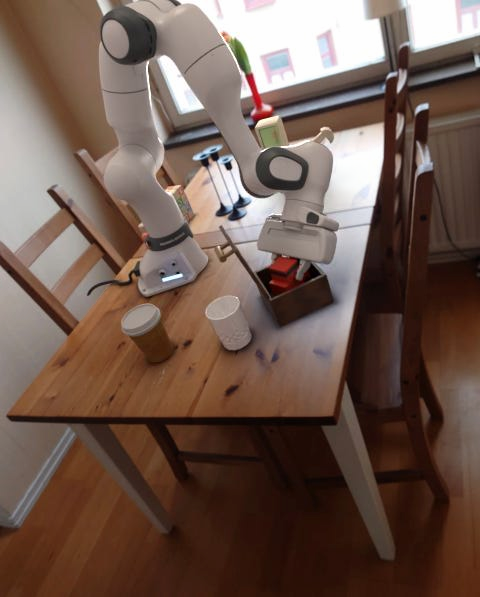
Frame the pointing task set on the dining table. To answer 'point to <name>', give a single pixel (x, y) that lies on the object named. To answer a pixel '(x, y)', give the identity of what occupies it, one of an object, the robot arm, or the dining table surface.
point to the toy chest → (296, 295)
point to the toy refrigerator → (271, 133)
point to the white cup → (229, 322)
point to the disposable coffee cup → (147, 331)
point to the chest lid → (223, 258)
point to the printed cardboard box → (181, 201)
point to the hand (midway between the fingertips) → (286, 277)
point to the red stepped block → (285, 275)
